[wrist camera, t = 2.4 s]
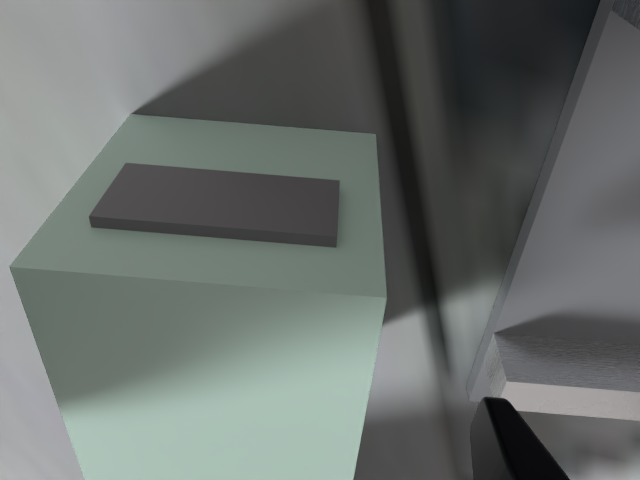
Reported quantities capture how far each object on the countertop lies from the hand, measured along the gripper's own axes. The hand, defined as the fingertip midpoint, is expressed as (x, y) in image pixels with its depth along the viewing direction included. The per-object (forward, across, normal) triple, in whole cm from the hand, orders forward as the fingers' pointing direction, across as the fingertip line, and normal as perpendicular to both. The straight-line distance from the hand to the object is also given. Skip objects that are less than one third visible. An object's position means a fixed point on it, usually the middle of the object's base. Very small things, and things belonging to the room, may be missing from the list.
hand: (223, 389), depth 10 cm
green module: (+4, 0, 0) cm, 4 cm away
